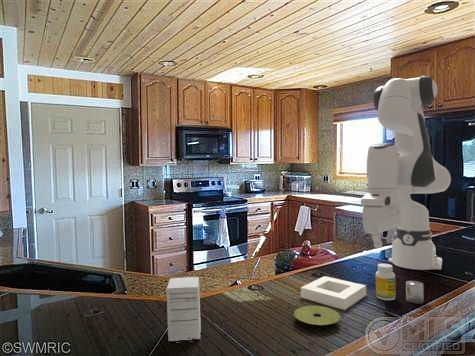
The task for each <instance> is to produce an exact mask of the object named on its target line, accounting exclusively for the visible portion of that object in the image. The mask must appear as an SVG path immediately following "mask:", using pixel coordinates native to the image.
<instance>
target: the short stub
mask: <svg viewBox="0 0 475 356" xmlns="http://www.w3.org/2000/svg"><path fill="white" fill-rule="evenodd" d="M424 295H425V294H424V283H423V282H420V281H417V280H407V281H405V299H406V301H407V302H409V303H412V304H419V305H420V304H423V303H424V302H425V301H424Z"/></svg>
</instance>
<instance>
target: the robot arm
mask: <svg viewBox="0 0 475 356" xmlns="http://www.w3.org/2000/svg"><path fill="white" fill-rule="evenodd" d="M437 94H438V85H437V82H436V81H435V79H434V78H433V77H432V76H431V75H428V76H427V75H421V76H420V77H413V78H407V79H405V78H402V77H401V78H400V77H398V78H392V79H390V80H388V81H387V82H386V83H385V84H384V85H380V86H378V87H377V88H376V89H374V91H373V95H372V104H373V107H374V109H375V110H376V111H377V120H378V122H379V124H380V125H381V126H382V127H383V128H385V129H386V130H387V131H391V132H394V134H393V135H394V143H392V142H383V143H375V144H371V145H370V146H369V147H368V151H367V155H366V156H367V157H366V178H367V180H368V181H367V185H366V192H365V194H364V195H363V196H362V197H361V198H360V205H361V206H363V207H362V224H363V225H362V226H363V230H364V232H365V233H366V234H371V238H372V240H373V247H374V248H375V249H381V248H382V247H383V241H382V239H381V236H382V233H383V232H386V231H387V233H386V234H387V235H386V237H385V240H386V243H388V244H391V245H392V247H391V248H392V249H391V251H392V252H391V257H389V258H388V259H387V260H388V262H390V263H392V264H393V265H395V266H396V267H399V268H404V269H409V270H418V271H419V270H420V271H427V270H428V271H429V270H442V266H443V258H442V257H439V256H438V255H436V251H437V250H436V246H435V244H434V243H433V241H432V229H431V228H430V215H429V213H430V212H429V209H428V208H427V207H426V206H425V205H424V204H421V203H420V202H417V201H414V200H413V199H412V197H411V195H412V194H415V195H416V194H421V195H422V194H436V193H441V192H445V191H446V190H448V188H449V186H450V185H451V182H452V177H451V173H450V172H449V170H448V169H447V167H445V166H443V165H441V164H440V163H438V161H436V160H435V159H434V156H433V154H432V148H431V144H430V138H429V134H428V128H427V126H426V119H425V114H424V111H423V109H424V110H425V111H426V110H428V108H429V106H431V105H432V104H433V103H434V102H435V100H436V97H437ZM395 237H396V239H395Z"/></svg>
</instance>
